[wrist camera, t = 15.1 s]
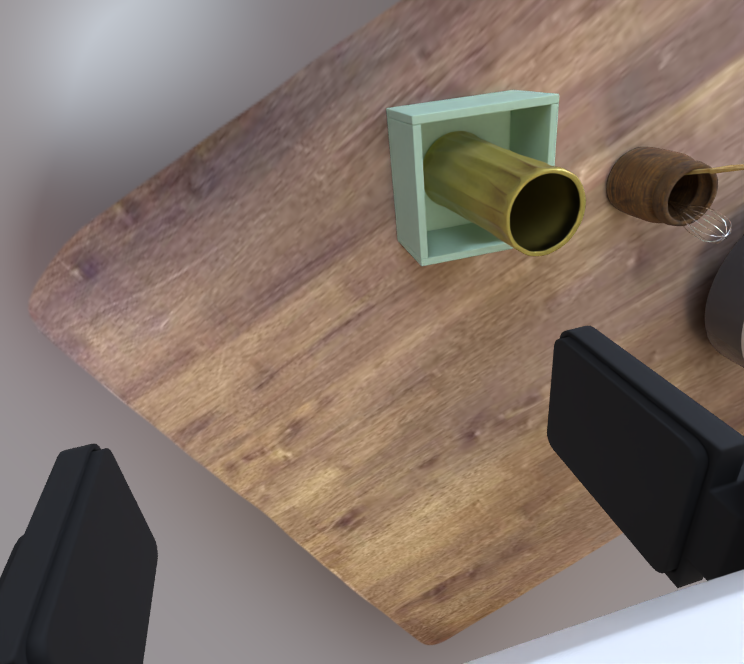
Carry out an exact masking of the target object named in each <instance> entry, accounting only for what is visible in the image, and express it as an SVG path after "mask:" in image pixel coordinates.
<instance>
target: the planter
mask: <svg viewBox="0 0 744 664" xmlns="http://www.w3.org/2000/svg"><path fill="white" fill-rule="evenodd" d="M705 328H706V333H707V336H708V339H709V341H710V342H711V344H712V346H713V347H714V348H715V349H716V350H717V351H718V352H719V353H720V354H722V355H723V356H725V357H727V358H728V359H730V360H732V361H733V362H735V363H737V364H738V365H740V366H742V367H743V368H744V235H743V236H742V237H741V238H740V239H739V241H738V242H737V243H736V244H735V246H734V247H733V248H732V250H731V251H730V252H729V254H728V255H727V257H726V258H725V260H724V261H723V263H722V265H721V267H720V268H719V270H718V272H717V274H716V276H715V278H714V281H713V283H712V286H711V288H710V291H709V295H708V298H707V302H706V308H705Z"/></svg>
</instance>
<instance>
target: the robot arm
mask: <svg viewBox="0 0 744 664" xmlns="http://www.w3.org/2000/svg"><path fill="white" fill-rule="evenodd" d="M547 436H548V440H549V443H550V445H551V447H552V448H553V450H554V451H555V452H556V453H557V455H558V456H559V457H560V458H561V459H562V460H563V462H564V463H565V464H566V465H567V466H568V468H569V469H570V470H571V471H572V472H573V474H574V475H575V476H576V477H577V478H578V480H579V481H580V482H581V483H582V484H583V485H584V487H585V488H586V489H587V490H588V491H589V493H590V494H591V495H592V496H593V497H594V499H595V500H596V501H597V502H598V503H599V505H600V506H601V507H602V508H603V509H604V510H605V512H606V513H607V514H608V515H609V516H610V518H611V519H612V520H613V521H614V522H615V524H616V525H617V526H618V527H619V528H620V530H621V531H622V532H623V533H624V534H625V535H626V537H627V538H628V539H629V540H630V541H631V542H632V544H633V545H634V546H635V547H636V549H637V550H638V551H639V552H640V553H641V555H642V556H643V557H644V558H645V559H646V561H647V562H648V563H649V564H650V565H651V566H652V567H653V568H654V569H655V570H656V571H657V572H659V573H665V574H666V575H667V576H668V577H669V579H670V580H671V581H672V582H673V583H674V584H675V586H676V587H677V588H679V587H682V586H685V585H688V584H691V583H694V582H697V581H700V580H702V579H703V577H704V578H705V579H706V580H707V581H706V582H703V583H700V584H696V585H693V586H690V587H687V588H684V589H681V590H678V591H675V592H672V593H669V594H666V595H663V596H660V597H657V598H654V599H651V600H648V601H645V602H642V603H639V604H636V605H633V606H630V607H627V608H624V609H622V610H619V611H616V612H613V613H610V614H607V615H604V616H601V617H598V618H595V619H592V620H589V621H586V622H583V623H580V624H577V625H574V626H571V627H569V628H565V629H562V630H559V631H556V632H553V633H550V634H548V635H545V636H542V637H539V638H536V639H533V640H530V641H527V642H524V643H521V644H519V645H515V646H513V647H510V648H507V649H504V650H501V651H498V652H496V653H492V654H489V655H487V656H484V657H481V658H478V659H475V660H472V661H469V662H466V663H463V664H744V436H742V435H741V434H740V433H738V432H737V431H736V430H734V429H733V428H731V427H730V426H729V425H727V424H726V423H725V422H723V421H722V420H720V419H719V418H718V417H716V416H715V415H714V414H712V413H711V412H709V411H708V410H707V409H705V408H704V407H702V406H701V405H700V404H698V403H697V402H696V401H694V400H693V399H691V398H690V397H689V396H687V395H686V394H685V393H683V392H682V391H680V390H679V389H678V388H676V387H675V386H674V385H672V384H671V383H669V382H668V381H667V380H665V379H664V378H663V377H661V376H660V375H658V374H657V373H656V372H654V371H653V370H652V369H650V368H649V367H647V366H646V365H645V364H643V363H642V362H641V361H639V360H638V359H636V358H635V357H634V356H632V355H631V354H630V353H628V352H627V351H625V350H624V349H623V348H621V347H620V346H619V345H617V344H616V343H614V342H613V341H612V340H610V339H609V338H608V337H606V336H605V335H603V334H602V333H601V332H599V331H598V330H597V329H595V328H594V327H592V326H583V327H579V328H575V329H571V330H567V331H564V332H562V334H561V336H560V339H558V340H556V342H555V344H554V353H553V365H552V378H551V390H550V402H549V414H548V427H547ZM157 557H158V553H157V545H156V541H155V539H154V537H153V535H152V533H151V531H150V529H149V527H148V525H147V523H146V521H145V518H144V516H143V514H142V513H141V510H140V508H139V507H138V504H137V502H136V500H135V498H134V496H133V494H132V492H131V490H130V488H129V486H128V484H127V482H126V480H125V478H124V476H123V474H122V472H121V470H120V468H119V466H118V464H117V462H116V460H115V458H114V456H113V454H112V452H111V451H110V450H109V449H108V448H105V449H100V447H99V446H98V445H97V444H89V445H85V446H81V447H77V448H72V449H68V450H64V451H62V452H60V454H59V455H58V457H57V459H56V462H55V464H54V466H53V469H52V471H51V473H50V475H49V478H48V480H47V482H46V485H45V487H44V490H43V492H42V494H41V496H40V499H39V501H38V504H37V506H36V508H35V510H34V513H33V515H32V517H31V520H30V522H29V525H28V527H27V529H26V531H25V534H24V535H23V536H21V537H20V538H19V539H18V541H17V543H16V544H15V546H14V548H13V550H12V552H11V555H10V557H9V559H8V562H7V564H6V566H5V568H4V571H3V573H2V575H1V577H0V664H143V659H144V652H145V645H146V638H147V631H148V624H149V616H150V609H151V602H152V595H153V588H154V581H155V574H156V566H157V559H158V558H157Z"/></svg>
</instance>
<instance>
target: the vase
mask: <svg viewBox="0 0 744 664" xmlns="http://www.w3.org/2000/svg"><path fill="white" fill-rule="evenodd" d="M423 175H424V190H425V192H426V194H427V195H428V197H429V198H430V199H431V200H432V201H433V202H435V203H436V204H438V205H440V206H443V207H446V208H447V209H449V210H451V211H453V212H455V213H456V214H458V215H460V216H462V217H463V218H465V219H466V220H468V221H470V222H472V223H474V224H476V225H478V226H480V227H481V228H483V229H485V230H487V231H488V232H490V233H491V234H493V235H494V236H496V237H497V238H498V239H500V240H501V241H503V242H504V243H506V244H508V245H509V246H511V247H513V248H515V249H516V250H518V251H520V252H522V253H523V254H526V255H528V256H544V255H548V254H550V253H552V252H554V251H556V250H558V249H559V248H561V247H562V246H563V245H565V244H566V243H567V242H568V241H569V240H570V239H571V238H572V236H573V235H574V234H575V232H576V231H577V229H578V227H579V226H580V224H581V221H582V219H583V216H584V211H585V204H586V199H585V192H584V189H583V186H582V184H581V182H580V180H579V179H578V177H577V176H576V175H574V174H573V173H571V172H569V171H567V170H565V169H563V168H561V167H555V166H551V165H549V164H547V163H545V162H542V161H539V160H536V159H533V158H529V157H526V156H523V155H520V154H517V153H515V152H512V151H510V150H507V149H504V148H501V147H499V146H497V145H495V144H492V143H490V142H488V141H485V140H483V139H480V138H479V137H478V136H476V135H474V134H472V133H470V132H466V131H455V132H450V133H448V134H445V135H443V136H442V137H440V138H439V139H438V140H436V141H435V142H434V143H433V144H432V146H431V147H430V148H429V150H428V151H427V153H426V155H425V157H424V160H423Z"/></svg>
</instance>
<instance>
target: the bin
mask: <svg viewBox="0 0 744 664" xmlns="http://www.w3.org/2000/svg"><path fill="white" fill-rule="evenodd" d="M558 103H559V94H553V93H542V92H531V91H520V90H510V91H503V92H496V93H489V94H482V95H475V96H468V97H461V98H454V99H447V100H440V101H433V102H426V103H419V104H413V105H406V106H399V107H392V108H386V112H387V123H388V135H389V146H390V158H391V169H392V181H393V192H394V204H395V215H396V227H397V239H398V241H399V242H400V243H401V245H402V246H403V247H404V248H405V249H406V250H407V251H408V252H409V253H410V254H411V255H412V257H413V258H414V259H415V260H416V261H417V262H418V263H419V264H420V265H421V266H426V265H431V264H436V263H442V262H447V261H452V260H457V259H462V258H467V257H472V256H477V255H482V254H487V253H493V252H498V251H503V250H508V249H513V247H511V246H509V245H508V244H506V243H504V242H503V241H501V240H500V239H498V238H497V237H496V236H494V235H493V234H491V233H490V232H488V231H487V230H485V229H483V228H481V227H480V226H478V225H476V224H474V223H472V222H470V221H468V220H466V219H465V218H463V217H462V216H460V215H458V214H456V213H455V212H453V211H451V210H449V209H447V208H446V207H443V206H440V205H438V204H436V203H435V202H433V201H432V200H431V199H430V198H429V197H428V195H427V194H426V192H425V190H424V175H423V160H424V157H425V155H426V153H427V151H428V150H429V148H430V147H431V146H432V144H433V143H434V142H435V141H436V140H438V139H439V138H440V137H442V136H443V135H445V134H448V133H450V132H455V131H466V132H470V133H472V134H474V135H476V136H478V137H479V138H480V139H483V140H485V141H488V142H490V143H492V144H495V145H497V146H499V147H501V148H504V149H507V150H510V151H512V152H515V153H517V154H520V155H523V156H526V157H529V158H533V159H536V160H539V161H542V162H545V163H547V164H549V165H551V166H554V164H555V150H556V135H557V120H558V105H559V104H558Z"/></svg>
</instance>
